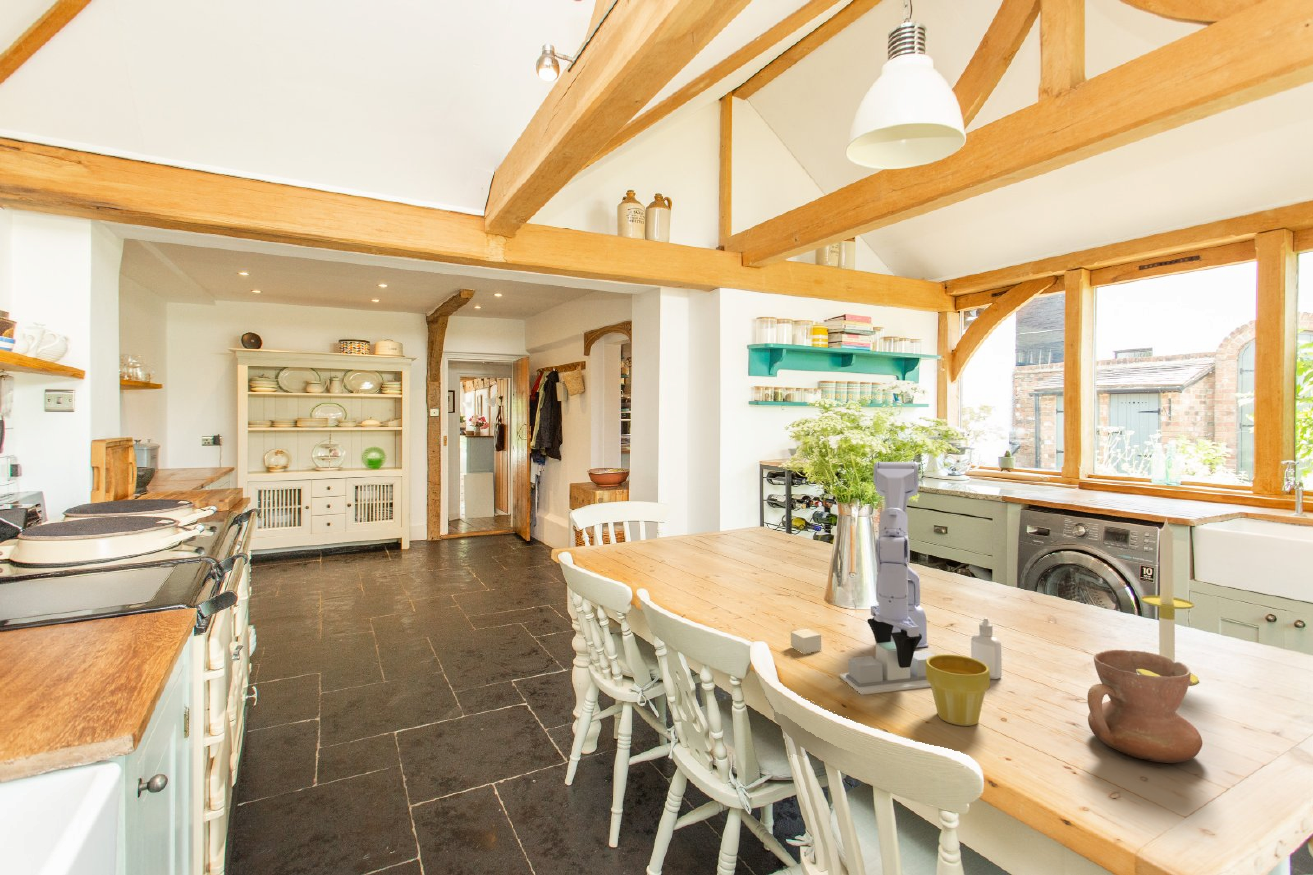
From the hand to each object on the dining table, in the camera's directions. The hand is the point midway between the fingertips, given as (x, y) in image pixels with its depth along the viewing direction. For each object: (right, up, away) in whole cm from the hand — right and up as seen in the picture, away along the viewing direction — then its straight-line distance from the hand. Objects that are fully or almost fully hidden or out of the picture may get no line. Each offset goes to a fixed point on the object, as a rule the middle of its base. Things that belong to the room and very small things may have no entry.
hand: (894, 659), depth 128 cm
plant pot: (+5, -5, -16) cm, 18 cm away
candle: (+56, -3, 0) cm, 56 cm away
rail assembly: (0, -4, 0) cm, 4 cm away
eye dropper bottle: (+20, -4, +2) cm, 21 cm away
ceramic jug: (+29, -5, -28) cm, 40 cm away
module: (0, -3, 0) cm, 3 cm away
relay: (-14, -4, +19) cm, 24 cm away
